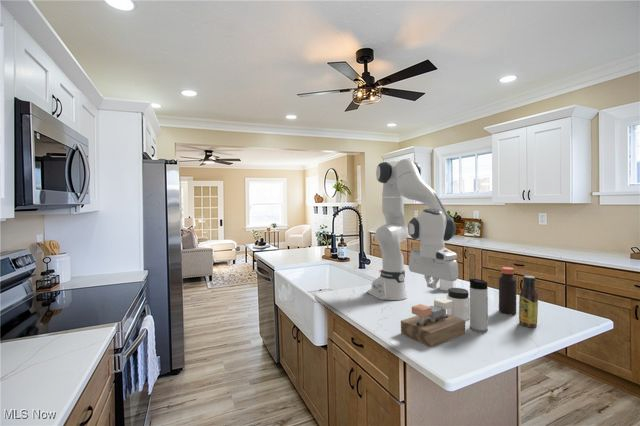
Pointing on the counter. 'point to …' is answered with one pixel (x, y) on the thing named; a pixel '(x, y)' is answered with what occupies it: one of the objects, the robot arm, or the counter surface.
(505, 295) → the vinegar
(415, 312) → the key terracotta
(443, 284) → the medicine bottle
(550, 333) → the counter surface
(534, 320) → the sauce bottle
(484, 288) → the travel mug
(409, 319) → the keypad base
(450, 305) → the cream block
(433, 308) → the key slate
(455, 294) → the jar
